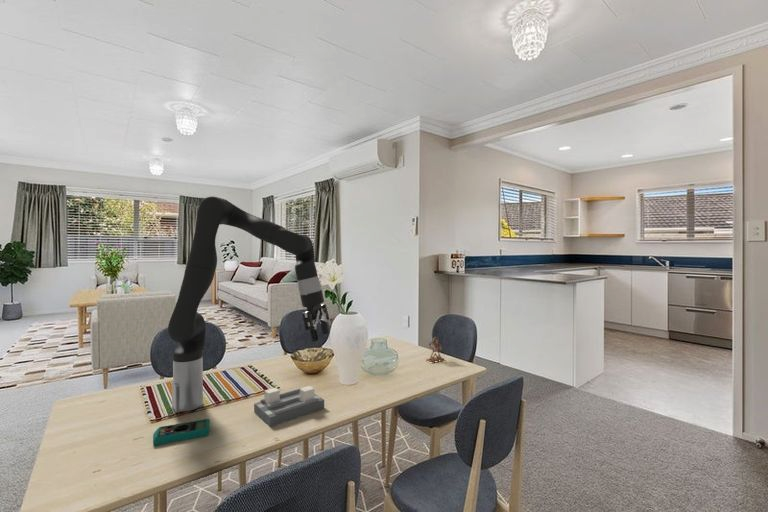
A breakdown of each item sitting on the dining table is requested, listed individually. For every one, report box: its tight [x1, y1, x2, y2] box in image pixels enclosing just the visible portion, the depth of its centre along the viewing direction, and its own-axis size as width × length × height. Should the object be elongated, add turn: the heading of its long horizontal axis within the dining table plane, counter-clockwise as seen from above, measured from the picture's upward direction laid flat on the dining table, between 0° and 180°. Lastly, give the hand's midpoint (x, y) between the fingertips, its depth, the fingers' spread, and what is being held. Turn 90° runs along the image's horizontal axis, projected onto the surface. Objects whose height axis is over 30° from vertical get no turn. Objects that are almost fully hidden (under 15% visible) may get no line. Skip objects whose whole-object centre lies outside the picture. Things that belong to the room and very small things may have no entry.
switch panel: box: [253, 387, 325, 427], centre depth 125 cm, size 20×13×4 cm, turn 131°
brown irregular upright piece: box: [425, 336, 445, 363], centre depth 179 cm, size 9×4×12 cm, turn 122°
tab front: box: [300, 385, 315, 402], centre depth 125 cm, size 4×3×4 cm
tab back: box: [264, 387, 281, 404], centre depth 124 cm, size 4×3×4 cm
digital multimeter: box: [152, 418, 211, 446], centre depth 108 cm, size 7×15×3 cm, turn 114°
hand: (321, 337), depth 123 cm, fingers open, 8 cm apart
